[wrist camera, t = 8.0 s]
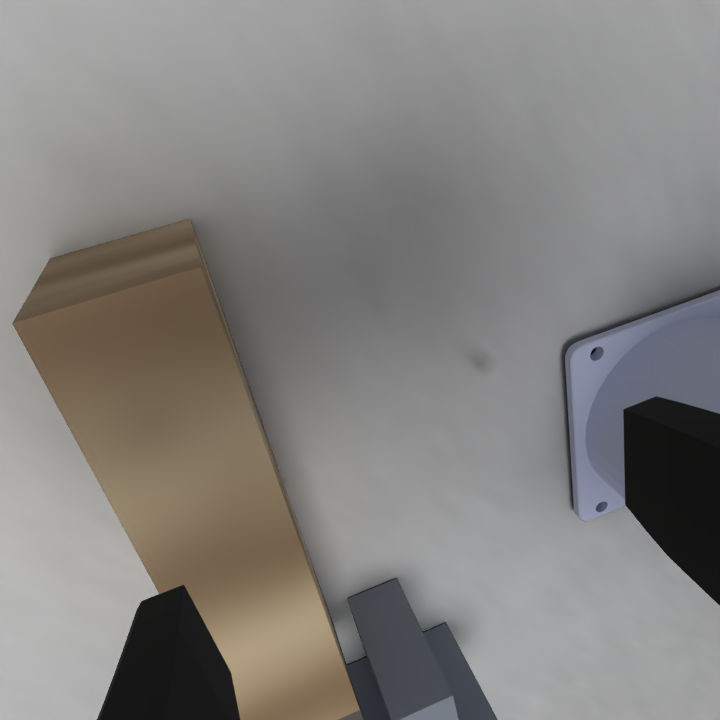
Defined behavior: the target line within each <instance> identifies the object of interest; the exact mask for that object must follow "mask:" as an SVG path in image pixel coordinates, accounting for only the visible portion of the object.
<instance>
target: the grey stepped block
mask: <svg viewBox="0 0 720 720" xmlns="http://www.w3.org/2000/svg"><path fill="white" fill-rule="evenodd" d="M348 602H349V605H350V608H351V611H352V614H353V617H354V620H355V623H356V626H357V629H358V632H359V635H360V638H361V641H362V644H363V647H364V650H365V653H366V656H367V657H366V658H363V659H361V660H359V661H356V662H354V663H352V664H349V665H347V668H348V671H349V674H350V677H351V680H352V684H353V687H354V690H355V693H356V696H357V699H358V702H359V705H360V708H361V712H362V715H363V718H364V720H497V718H496V716H495V714H494V712H493V710H492V708H491V706H490V704H489V703H488V701H487V699H486V697H485V695H484V693H483V691H482V689H481V687H480V686H479V684H478V682H477V680H476V678H475V676H474V674H473V672H472V670H471V669H470V667H469V665H468V663H467V661H466V659H465V657H464V655H463V654H462V652H461V650H460V648H459V646H458V644H457V642H456V640H455V638H454V637H453V635H452V633H451V631H450V629H449V627H448V625H447V623H444V624H442V625H440V626H437V627H435V628H433V629H430V630H428V631H426V632H422V630H421V628H420V626H419V624H418V622H417V619H416V617H415V615H414V613H413V611H412V609H411V607H410V605H409V603H408V601H407V599H406V596H405V594H404V592H403V590H402V588H401V586H400V584H399V582H398V580H397V578H396V579H394V580H391V581H389V582H386V583H384V584H382V585H379V586H377V587H374V588H372V589H369V590H367V591H365V592H362V593H360V594H357V595H355V596H353V597H350V598H348Z"/></svg>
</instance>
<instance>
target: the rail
mask: <svg viewBox="0 0 720 720" xmlns="http://www.w3.org/2000/svg"><path fill="white" fill-rule="evenodd" d="M12 324H13V325H14V327H15V329H16V331H17V333H18V335H19V336H20V338H21V340H22V342H23V344H24V346H25V347H26V349H27V351H28V353H29V355H30V357H31V358H32V360H33V362H34V364H35V366H36V368H37V370H38V371H39V373H40V375H41V377H42V379H43V381H44V382H45V384H46V386H47V388H48V390H49V392H50V393H51V395H52V397H53V399H54V401H55V403H56V405H57V406H58V408H59V410H60V412H61V414H62V416H63V417H64V419H65V421H66V423H67V425H68V427H69V428H70V430H71V432H72V434H73V436H74V438H75V439H76V441H77V443H78V445H79V447H80V449H81V451H82V452H83V454H84V456H85V458H86V460H87V462H88V463H89V465H90V467H91V469H92V471H93V473H94V474H95V476H96V478H97V480H98V482H99V484H100V485H101V487H102V489H103V491H104V493H105V495H106V497H107V498H108V500H109V502H110V504H111V506H112V508H113V509H114V511H115V513H116V515H117V517H118V519H119V520H120V522H121V524H122V526H123V528H124V530H125V532H126V533H127V535H128V537H129V539H130V541H131V543H132V544H133V546H134V548H135V550H136V552H137V554H138V555H139V557H140V559H141V561H142V563H143V565H144V566H145V568H146V570H147V572H148V574H149V576H150V578H151V579H152V581H153V583H154V585H155V587H156V589H157V590H158V592H159V594H161V593H164V592H166V591H169V590H171V589H174V588H176V587H179V586H181V585H185V587H186V589H187V591H188V593H189V595H190V597H191V599H192V600H193V602H194V604H195V606H196V608H197V610H198V612H199V614H200V615H201V617H202V619H203V621H204V623H205V625H206V627H207V628H208V630H209V632H210V634H211V636H212V638H213V640H214V642H215V643H216V645H217V647H218V649H219V651H220V653H221V655H222V657H223V658H224V660H225V662H226V664H227V666H228V668H229V670H230V671H231V675H232V680H233V685H234V690H235V695H236V700H237V705H238V710H239V715H240V720H364V718H363V715H362V712H361V708H360V705H359V702H358V699H357V696H356V693H355V690H354V687H353V684H352V680H351V677H350V674H349V671H348V668H347V665H346V662H345V659H344V656H343V653H342V649H341V646H340V643H339V640H338V637H337V634H336V631H335V628H334V625H333V622H332V619H331V616H330V613H329V611H328V608H327V605H326V602H325V599H324V596H323V594H322V591H321V588H320V585H319V582H318V579H317V577H316V574H315V571H314V568H313V565H312V562H311V560H310V557H309V554H308V551H307V548H306V545H305V543H304V540H303V537H302V534H301V531H300V529H299V526H298V523H297V520H296V517H295V514H294V512H293V509H292V506H291V503H290V500H289V497H288V495H287V492H286V489H285V486H284V483H283V480H282V478H281V475H280V472H279V469H278V466H277V464H276V461H275V458H274V455H273V452H272V449H271V447H270V444H269V441H268V438H267V435H266V432H265V430H264V427H263V424H262V421H261V418H260V415H259V413H258V410H257V407H256V404H255V401H254V398H253V396H252V393H251V390H250V387H249V384H248V382H247V379H246V376H245V373H244V370H243V367H242V365H241V362H240V359H239V356H238V353H237V350H236V348H235V345H234V342H233V339H232V336H231V333H230V331H229V328H228V325H227V322H226V319H225V316H224V314H223V311H222V308H221V305H220V302H219V300H218V297H217V294H216V291H215V288H214V285H213V283H212V280H211V277H210V274H209V271H208V268H207V266H206V263H205V260H204V257H203V254H202V251H201V249H200V246H199V243H198V240H197V237H196V235H195V232H194V229H193V226H192V223H191V220H190V219H187V220H183V221H180V222H176V223H173V224H169V225H166V226H162V227H159V228H155V229H152V230H148V231H145V232H141V233H138V234H134V235H131V236H127V237H124V238H120V239H117V240H113V241H110V242H106V243H103V244H99V245H96V246H92V247H89V248H85V249H82V250H78V251H75V252H71V253H68V254H64V255H61V256H57V257H54V258H50V260H49V262H48V263H47V265H46V267H45V268H44V270H43V272H42V274H41V275H40V277H39V279H38V280H37V282H36V284H35V286H34V287H33V289H32V291H31V292H30V294H29V296H28V298H27V299H26V301H25V303H24V304H23V306H22V308H21V310H20V311H19V313H18V315H17V316H16V318H15V320H14V322H13V323H12Z"/></svg>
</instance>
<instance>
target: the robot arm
mask: <svg viewBox="0 0 720 720" xmlns="http://www.w3.org/2000/svg"><path fill="white" fill-rule="evenodd" d="M594 348H596V351H595V352H594V353H593V354H592V355H590V354H591V352H592V350H593V349H594ZM565 367H566V384H567V401H568V418H569V434H570V451H571V468H572V484H573V501H574V512H575V514H576V515H577V516H578V517H579V518H580V519H581V520H582V521H589V520H592V519H594V518H597V517H599V516H602V515H604V514H606V513H609V512H611V511H613V510H616V509H618V508H621V507H623V506H625V505H626V506H627V507H628V508H629V510H630V511H631V512H632V513H633V515H634V516H635V517H636V518H637V520H638V521H639V522H640V523H641V525H642V526H643V527H644V528H645V530H646V531H647V532H648V533H649V534H650V536H651V537H652V538H653V539H654V540H655V541H656V543H657V544H658V545H659V546H660V547H661V548H662V550H663V551H664V552H665V553H666V554H667V555H668V556H669V557H670V558H671V559H672V560H673V561H674V562H675V563H676V564H677V565H678V566H679V567H680V568H681V569H682V570H683V571H684V572H685V573H686V574H687V575H688V576H689V577H690V578H691V579H692V580H693V581H695V582H696V583H697V584H698V585H699V586H700V587H701V588H702V589H703V590H704V591H705V592H706V593H707V594H708V595H709V596H710V597H711V598H712V599H713V600H715V601H716V602H717V603H718V604H719V605H720V290H718V291H716V292H713V293H710V294H707V295H705V296H702V297H699V298H696V299H694V300H691V301H688V302H685V303H683V304H680V305H677V306H674V307H672V308H669V309H666V310H663V311H660V312H658V313H655V314H652V315H649V316H647V317H644V318H641V319H638V320H636V321H633V322H630V323H627V324H625V325H622V326H619V327H616V328H614V329H611V330H608V331H605V332H602V333H600V334H597V335H594V336H591V337H589V338H586V339H583V340H580V341H578V342H576V343H574V344H572V345H571V346H570V347H569V348H568V350H567V352H566V355H565ZM97 720H240V715H239V710H238V705H237V700H236V695H235V690H234V685H233V680H232V675H231V671H230V670H229V668H228V666H227V664H226V662H225V660H224V658H223V657H222V655H221V653H220V651H219V649H218V647H217V645H216V643H215V642H214V640H213V638H212V636H211V634H210V632H209V630H208V628H207V627H206V625H205V623H204V621H203V619H202V617H201V615H200V614H199V612H198V610H197V608H196V606H195V604H194V602H193V600H192V599H191V597H190V595H189V593H188V591H187V589H186V587H185V585H181V586H179V587H176V588H174V589H171V590H169V591H166V592H164V593H161V594H159V595H156V596H154V597H151V598H149V599H146V600H144V601H142V602H141V603H140V605H139V607H138V609H137V611H136V614H135V617H134V620H133V623H132V625H131V628H130V631H129V634H128V637H127V640H126V643H125V646H124V648H123V651H122V654H121V657H120V660H119V663H118V665H117V668H116V671H115V674H114V676H113V679H112V682H111V685H110V687H109V690H108V693H107V695H106V698H105V701H104V704H103V706H102V709H101V711H100V714H99V716H98V719H97Z"/></svg>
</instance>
